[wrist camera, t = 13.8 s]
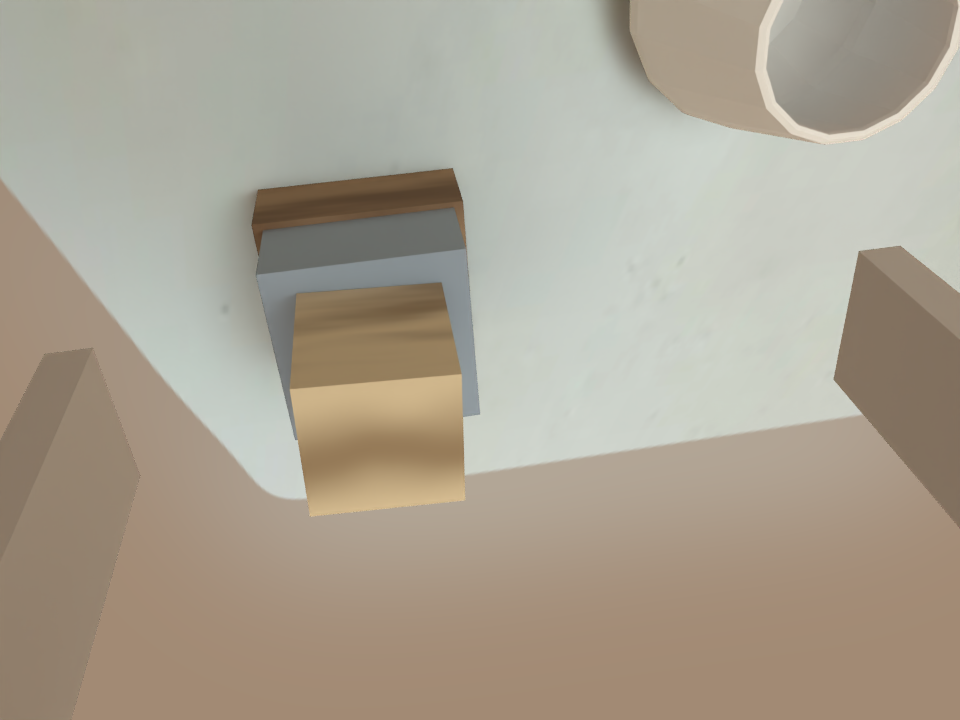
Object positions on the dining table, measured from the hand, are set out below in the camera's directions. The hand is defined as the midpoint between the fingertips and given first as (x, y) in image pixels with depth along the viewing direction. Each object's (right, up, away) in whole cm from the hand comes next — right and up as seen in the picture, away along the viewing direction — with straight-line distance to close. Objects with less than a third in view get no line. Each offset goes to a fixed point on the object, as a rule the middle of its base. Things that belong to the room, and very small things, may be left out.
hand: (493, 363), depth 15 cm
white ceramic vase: (+13, +21, +31) cm, 39 cm away
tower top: (-6, +3, +33) cm, 34 cm away
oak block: (-6, +1, +29) cm, 29 cm away
